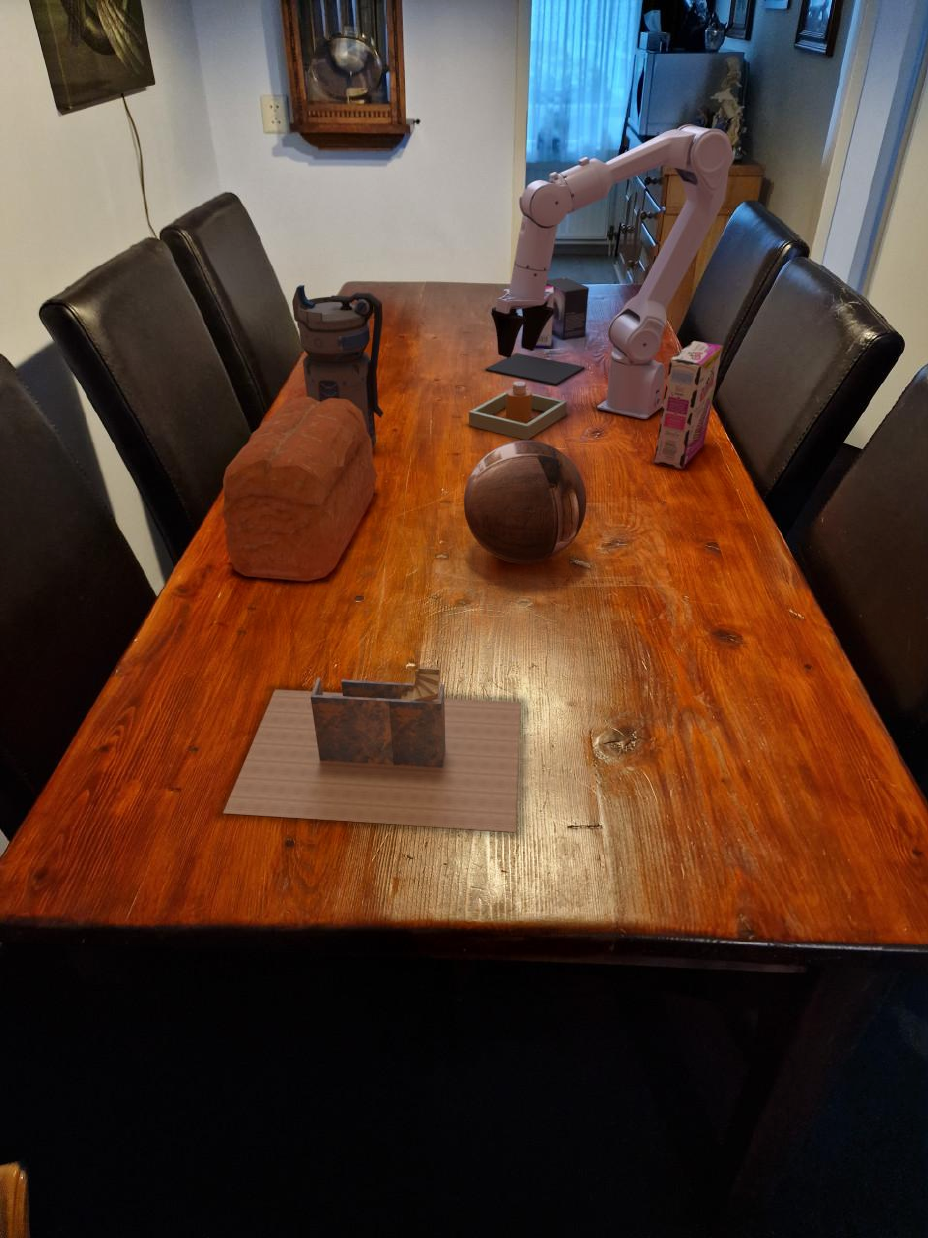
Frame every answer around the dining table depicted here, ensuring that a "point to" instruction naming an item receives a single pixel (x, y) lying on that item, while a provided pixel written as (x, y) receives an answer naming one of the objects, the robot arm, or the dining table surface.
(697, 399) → the candy bar box
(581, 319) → the small box
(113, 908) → the dining table surface
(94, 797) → the dining table surface
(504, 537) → the wooden sphere
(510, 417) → the bottle
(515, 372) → the mat
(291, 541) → the bread
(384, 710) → the architectural model on board
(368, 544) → the dining table surface
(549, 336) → the supplement box
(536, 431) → the square frame
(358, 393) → the grenade canister
